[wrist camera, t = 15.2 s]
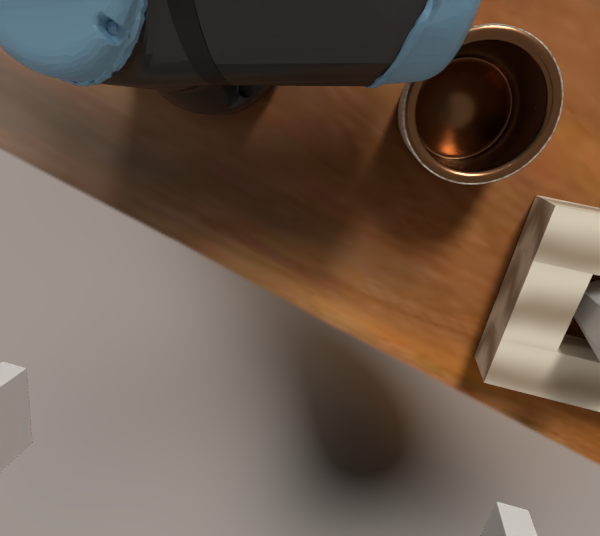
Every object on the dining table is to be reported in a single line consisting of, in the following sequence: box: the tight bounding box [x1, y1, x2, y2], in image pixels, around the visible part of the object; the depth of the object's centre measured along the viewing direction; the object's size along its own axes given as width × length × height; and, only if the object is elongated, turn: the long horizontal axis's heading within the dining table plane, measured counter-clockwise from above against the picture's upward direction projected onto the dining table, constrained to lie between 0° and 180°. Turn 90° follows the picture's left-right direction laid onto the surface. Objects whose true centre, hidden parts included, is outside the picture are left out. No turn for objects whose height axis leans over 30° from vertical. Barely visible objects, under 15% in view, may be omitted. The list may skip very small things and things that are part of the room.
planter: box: [398, 24, 563, 185], centre depth 34 cm, size 11×11×10 cm
